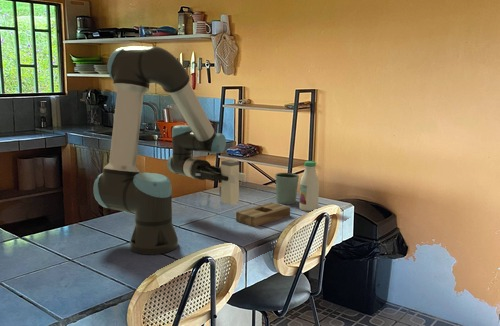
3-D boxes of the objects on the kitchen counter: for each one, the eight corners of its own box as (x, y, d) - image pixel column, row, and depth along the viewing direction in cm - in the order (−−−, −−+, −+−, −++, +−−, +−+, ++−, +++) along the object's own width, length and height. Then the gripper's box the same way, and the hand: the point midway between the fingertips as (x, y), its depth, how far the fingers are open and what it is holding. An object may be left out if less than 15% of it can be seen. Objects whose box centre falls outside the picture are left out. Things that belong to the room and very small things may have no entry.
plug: (221, 201, 176) (221, 161, 173) (229, 199, 179) (229, 159, 176) (230, 204, 173) (230, 163, 170) (238, 202, 175) (239, 161, 172)
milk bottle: (317, 206, 207) (319, 160, 203) (318, 212, 199) (320, 163, 195) (299, 206, 207) (300, 159, 204) (299, 211, 200) (300, 163, 196)
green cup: (271, 199, 218) (272, 173, 215) (292, 198, 221) (293, 172, 218) (279, 205, 208) (280, 178, 206) (301, 203, 211) (302, 176, 209)
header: (236, 220, 186) (236, 212, 186) (271, 210, 200) (271, 202, 200) (254, 226, 179) (255, 217, 179) (290, 215, 193) (290, 207, 193)
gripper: (214, 175, 193) (257, 185, 177) (180, 182, 181) (222, 193, 165) (214, 156, 191) (257, 165, 175) (179, 162, 180) (222, 171, 163)
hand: (240, 178), depth 170 cm, fingers closed on plug, 4 cm apart
